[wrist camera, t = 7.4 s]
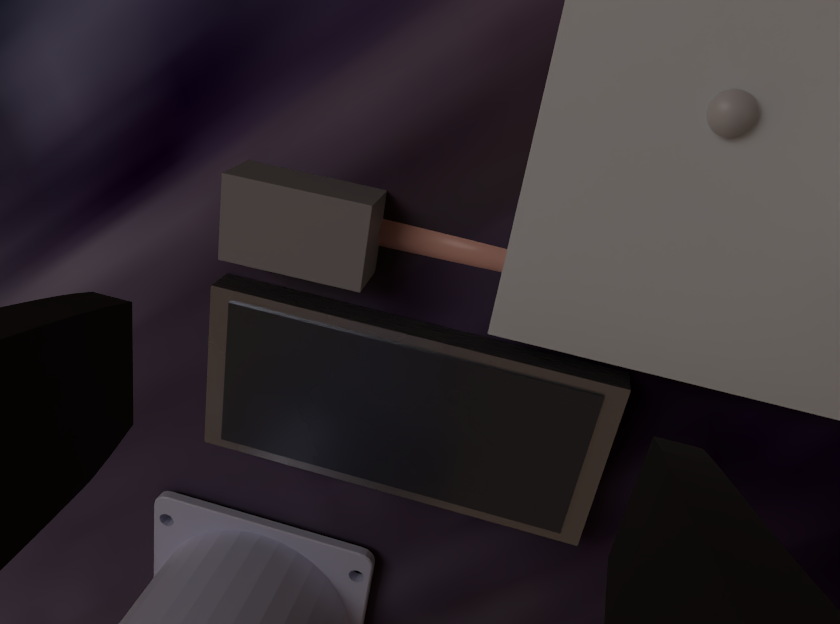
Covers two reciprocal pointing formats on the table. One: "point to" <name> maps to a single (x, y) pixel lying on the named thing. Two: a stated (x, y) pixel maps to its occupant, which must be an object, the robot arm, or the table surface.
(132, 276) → the table surface
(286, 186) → the cable plug
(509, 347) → the phone
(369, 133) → the table surface
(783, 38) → the outlet plate
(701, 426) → the table surface
